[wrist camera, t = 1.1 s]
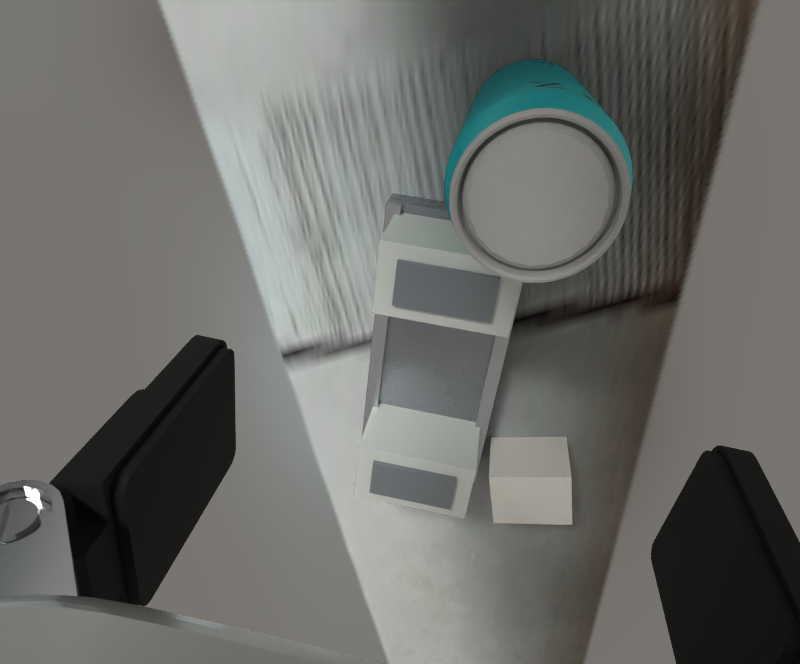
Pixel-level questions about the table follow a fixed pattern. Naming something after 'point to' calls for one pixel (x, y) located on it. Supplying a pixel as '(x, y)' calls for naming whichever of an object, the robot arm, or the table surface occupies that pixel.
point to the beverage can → (537, 175)
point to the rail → (433, 355)
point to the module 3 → (530, 480)
